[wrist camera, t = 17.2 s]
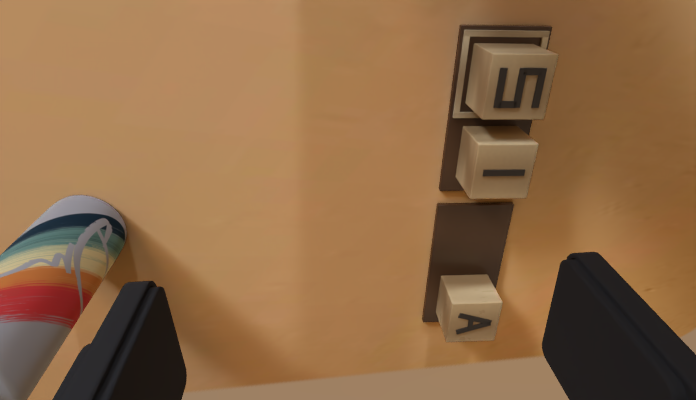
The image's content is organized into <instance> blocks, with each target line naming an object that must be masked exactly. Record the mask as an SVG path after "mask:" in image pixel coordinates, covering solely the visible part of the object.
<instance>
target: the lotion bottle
mask: <svg viewBox="0 0 696 400" xmlns="http://www.w3.org/2000/svg"><path fill="white" fill-rule="evenodd" d="M126 236H127V231H126V226H125V223H124V221H123V219H122V217H121V216H120V214H119V213H118V212H117V211H116V210H115V209H114V208H113V207H112V206H110V205H109V204H108V203H106V202H104V201H102V200H100V199H97V198H94V197H90V196H84V195H75V196H69V197H66V198H63V199H61V200H59V201H58V202H56V203H55V204H53V205H52V206H51V207H50V208H49V209H48V210H47V211H45V212H44V213H43V214H42V215H41V216H40V217H39V218H38V219H37V220H36V221H35V222H34V223H33V224H32V225H31V226H30V227H29V228H28V229H27V230H26V231H25V232H24V233H23V234H22V235H21V236H20V237H19V238H18V239H17V240H16V241H15V242H13V243H12V244H11V245H10V246H9V247H8V248H7V249H6V250H5V251H4V252H3V253H2V254H1V255H0V400H27V399H28V397H29V396H30V394H31V393H32V391H33V389H34V388H35V386H36V385H37V383H38V382H39V380H40V379H41V377H42V375H43V374H44V372H45V371H46V369H47V367H48V366H49V364H50V363H51V361H52V360H53V358H54V356H55V355H56V353H57V352H58V350H59V349H60V347H61V345H62V344H63V342H64V341H65V339H66V337H67V336H68V334H69V333H70V331H71V330H72V328H73V326H74V325H75V323H76V322H77V320H78V319H79V317H80V315H81V314H82V312H83V311H84V309H85V307H86V306H87V304H88V303H89V301H90V300H91V298H92V296H93V295H94V293H95V292H96V290H97V289H98V287H99V285H100V284H101V282H102V281H103V279H104V277H105V276H106V274H107V273H108V271H109V270H110V268H111V266H112V265H113V263H114V262H115V260H116V258H117V257H118V255H119V253H120V252H121V250H122V248H123V246H124V244H125V241H126Z"/></svg>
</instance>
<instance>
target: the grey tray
mask: <svg viewBox="0 0 696 400" xmlns="http://www.w3.org/2000/svg"><path fill="white" fill-rule="evenodd" d="M551 30H552V27H551V26H518V25H460V29H459V36H458V44H457V52H456V60H455V68H454V75H453V83H452V91H451V99H450V106H449V114H448V122H447V130H446V138H445V145H444V153H443V161H442V169H441V176H440V184H439V189H440V191H459V190H464V191H465V192H466V194H467V195H468V197H469V198H470V199H518V198H527V194H528V189H529V185H530V180H531V176H532V172H533V167H534V163H535V159H536V154H537V150H538V146H539V144H538V143H537V142H536V141H534V140H533V139H532V138H531V137H530V136H529V132H530V127H531V123H532V120H482V119H481V118H480V117H479V116H478V115H477V114H476V113H475V112H474V111H473V110H472V109H471V108H470V107H469V106H468V105H467V104H466V103H465V102H466V95H467V88H468V81H469V74H470V67H471V60H472V53H473V46H474V43H510V44H535V45H537V46H539V47H542V48H544V49H548V44H549V40H550V35H551Z"/></svg>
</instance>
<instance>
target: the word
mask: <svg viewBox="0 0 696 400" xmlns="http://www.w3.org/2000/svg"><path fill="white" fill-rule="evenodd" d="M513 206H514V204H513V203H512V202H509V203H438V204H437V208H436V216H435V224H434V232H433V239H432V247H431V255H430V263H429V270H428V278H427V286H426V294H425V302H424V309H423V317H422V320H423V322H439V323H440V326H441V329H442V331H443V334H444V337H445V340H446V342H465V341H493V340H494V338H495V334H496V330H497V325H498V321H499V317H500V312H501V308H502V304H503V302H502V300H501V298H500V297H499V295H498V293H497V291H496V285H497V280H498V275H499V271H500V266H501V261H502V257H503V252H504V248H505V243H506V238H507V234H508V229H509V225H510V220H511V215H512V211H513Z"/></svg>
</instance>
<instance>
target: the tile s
mask: <svg viewBox="0 0 696 400" xmlns="http://www.w3.org/2000/svg"><path fill="white" fill-rule="evenodd" d="M558 56H559V55H558V54H556V53H554V52H552V51H549V50H547V49H544V48H542V47H539V46H537V45H535V44H510V43H474V46H473V53H472V60H471V67H470V74H469V81H468V88H467V95H466V102H465V103H466V104H467V105H468V106H469V107H470V108H471V109H472V110H473V111H474V112H475V113H476V114H477V115H478V116H479V117H480V118H481V119H482V120H543V119H544V117H545V112H546V108H547V104H548V99H549V95H550V90H551V86H552V82H553V77H554V73H555V69H556V64H557V60H558Z"/></svg>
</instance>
